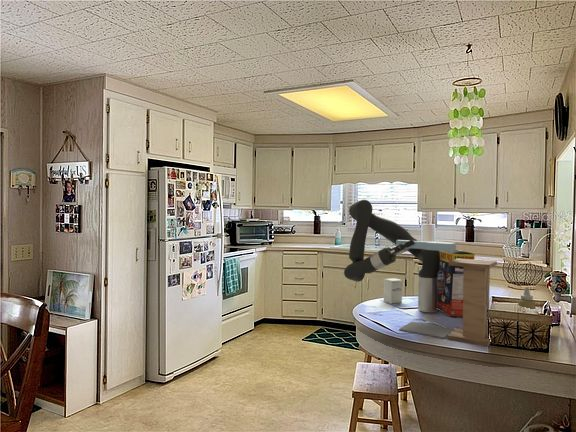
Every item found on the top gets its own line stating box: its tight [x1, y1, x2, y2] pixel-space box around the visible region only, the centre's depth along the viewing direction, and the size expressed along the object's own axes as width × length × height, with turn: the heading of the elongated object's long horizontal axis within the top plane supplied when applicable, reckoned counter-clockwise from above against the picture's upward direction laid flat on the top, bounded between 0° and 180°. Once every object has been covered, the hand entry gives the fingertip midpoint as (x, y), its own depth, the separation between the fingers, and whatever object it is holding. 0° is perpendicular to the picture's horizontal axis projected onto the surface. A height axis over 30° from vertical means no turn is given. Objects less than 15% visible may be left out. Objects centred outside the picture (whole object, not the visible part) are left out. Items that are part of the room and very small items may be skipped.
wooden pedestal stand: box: [447, 258, 498, 347], centre depth 173 cm, size 14×15×31 cm
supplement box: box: [383, 277, 403, 305], centre depth 239 cm, size 7×7×13 cm
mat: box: [398, 321, 456, 339], centre depth 184 cm, size 15×19×1 cm
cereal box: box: [437, 248, 476, 319], centre depth 218 cm, size 27×11×32 cm, turn 1°
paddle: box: [395, 240, 457, 251], centre depth 184 cm, size 8×24×3 cm, turn 54°
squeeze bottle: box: [517, 286, 537, 310], centre depth 188 cm, size 8×8×18 cm
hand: (415, 241), depth 187 cm, fingers closed on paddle, 3 cm apart
